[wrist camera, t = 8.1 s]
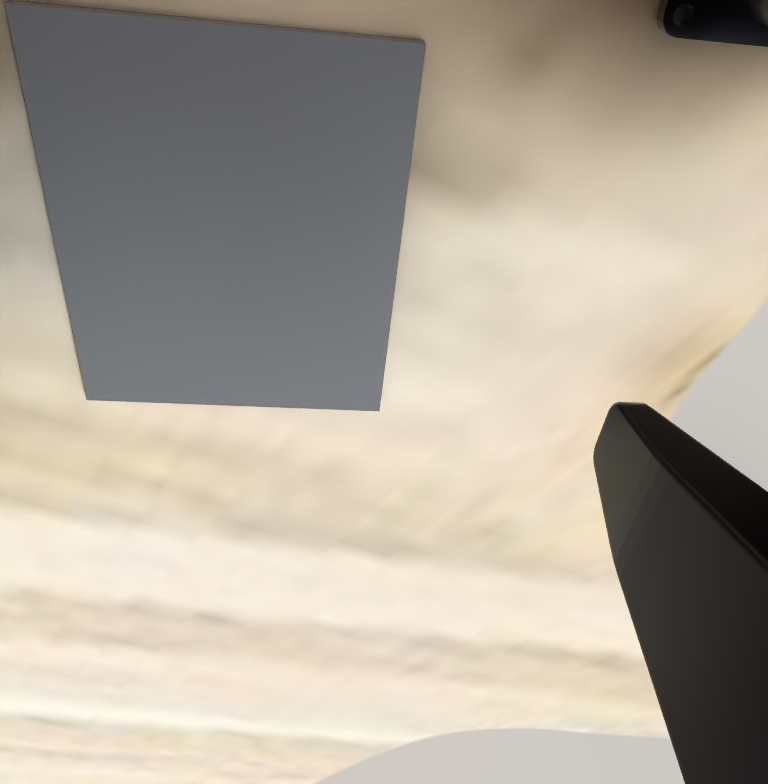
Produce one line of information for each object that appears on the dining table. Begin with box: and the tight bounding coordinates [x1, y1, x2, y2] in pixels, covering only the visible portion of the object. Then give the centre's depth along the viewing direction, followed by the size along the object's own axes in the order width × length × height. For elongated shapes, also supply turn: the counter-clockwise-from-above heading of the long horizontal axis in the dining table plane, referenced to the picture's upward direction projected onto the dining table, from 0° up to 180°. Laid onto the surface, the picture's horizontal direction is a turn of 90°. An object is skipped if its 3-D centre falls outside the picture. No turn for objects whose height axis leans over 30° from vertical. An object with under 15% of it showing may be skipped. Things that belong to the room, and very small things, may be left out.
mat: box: [5, 0, 426, 411], centre depth 21 cm, size 10×12×1 cm
